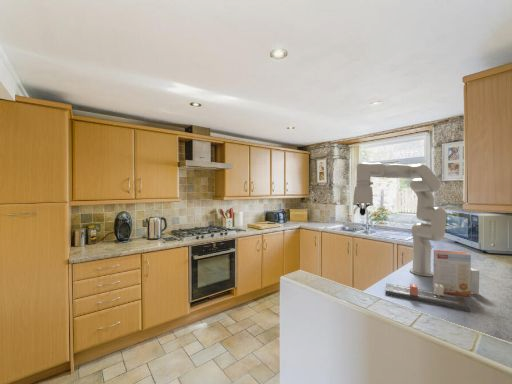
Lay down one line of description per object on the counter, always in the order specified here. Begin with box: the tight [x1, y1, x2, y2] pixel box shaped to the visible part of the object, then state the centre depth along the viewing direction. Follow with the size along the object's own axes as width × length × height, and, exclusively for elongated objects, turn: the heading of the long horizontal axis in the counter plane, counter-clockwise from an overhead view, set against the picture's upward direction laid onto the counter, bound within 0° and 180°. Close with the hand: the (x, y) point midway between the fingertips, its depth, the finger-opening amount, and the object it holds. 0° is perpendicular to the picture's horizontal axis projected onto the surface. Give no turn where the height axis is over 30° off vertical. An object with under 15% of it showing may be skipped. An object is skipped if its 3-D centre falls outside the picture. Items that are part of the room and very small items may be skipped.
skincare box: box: [470, 267, 480, 295], centre depth 124 cm, size 6×4×12 cm
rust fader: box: [409, 283, 419, 296], centre depth 114 cm, size 4×3×4 cm
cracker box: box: [432, 249, 472, 297], centre depth 122 cm, size 14×6×21 cm, turn 71°
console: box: [385, 283, 471, 313], centre depth 115 cm, size 11×32×2 cm, turn 60°
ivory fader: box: [433, 283, 444, 296], centre depth 115 cm, size 4×3×4 cm
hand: (362, 215), depth 140 cm, fingers closed
